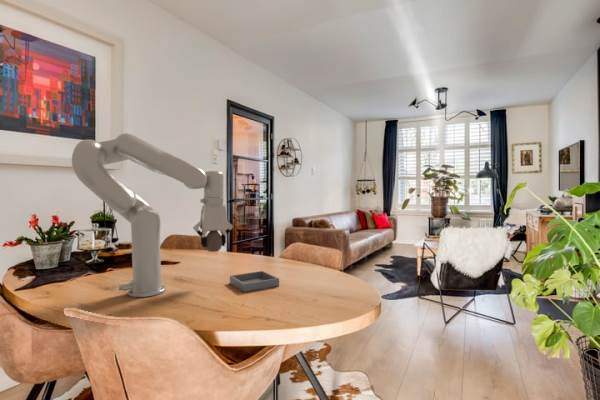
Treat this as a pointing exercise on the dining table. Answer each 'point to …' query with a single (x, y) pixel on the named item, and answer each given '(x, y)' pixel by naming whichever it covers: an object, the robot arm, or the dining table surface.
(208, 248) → the vase
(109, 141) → the robot arm
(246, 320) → the dining table surface
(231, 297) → the dining table surface
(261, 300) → the dining table surface
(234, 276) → the tray
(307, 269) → the dining table surface
